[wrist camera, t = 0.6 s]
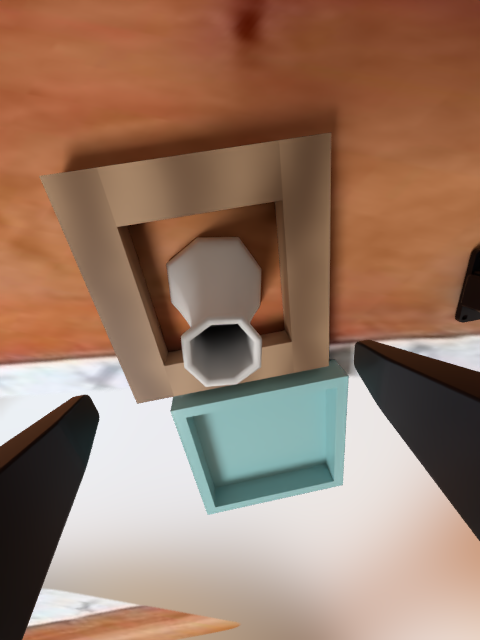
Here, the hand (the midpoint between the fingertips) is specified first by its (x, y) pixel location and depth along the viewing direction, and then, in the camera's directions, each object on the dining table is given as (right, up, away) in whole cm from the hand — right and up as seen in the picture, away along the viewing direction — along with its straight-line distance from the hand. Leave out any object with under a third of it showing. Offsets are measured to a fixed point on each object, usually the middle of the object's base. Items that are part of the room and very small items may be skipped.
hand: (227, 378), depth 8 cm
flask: (-1, +5, +10) cm, 12 cm away
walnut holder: (-1, +5, +10) cm, 11 cm away
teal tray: (+3, -10, +17) cm, 20 cm away
